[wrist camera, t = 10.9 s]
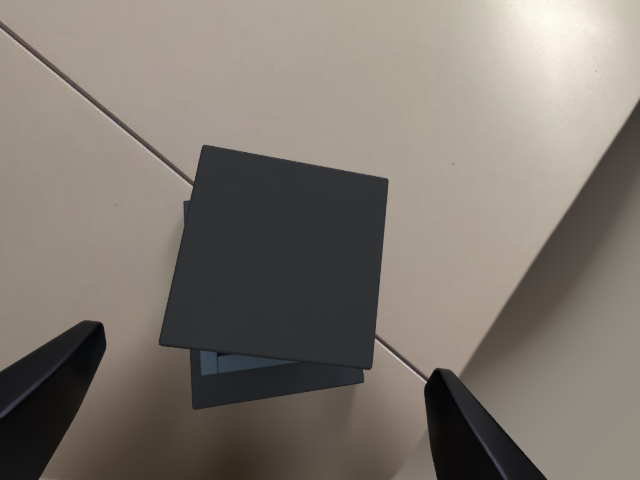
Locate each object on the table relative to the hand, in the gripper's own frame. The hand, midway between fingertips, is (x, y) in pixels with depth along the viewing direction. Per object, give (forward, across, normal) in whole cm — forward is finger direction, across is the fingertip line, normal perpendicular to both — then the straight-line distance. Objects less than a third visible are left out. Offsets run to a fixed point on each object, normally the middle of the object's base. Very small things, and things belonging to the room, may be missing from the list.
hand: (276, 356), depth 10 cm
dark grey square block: (+8, 0, +5) cm, 10 cm away
